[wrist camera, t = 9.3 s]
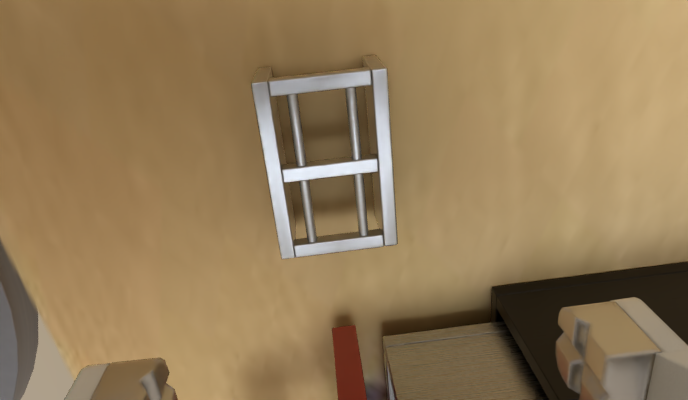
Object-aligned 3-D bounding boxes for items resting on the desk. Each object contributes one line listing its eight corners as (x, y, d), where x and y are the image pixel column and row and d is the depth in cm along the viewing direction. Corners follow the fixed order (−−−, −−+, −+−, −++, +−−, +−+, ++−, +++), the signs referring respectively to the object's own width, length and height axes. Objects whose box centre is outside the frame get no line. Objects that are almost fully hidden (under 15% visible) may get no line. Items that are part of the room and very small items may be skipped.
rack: (387, 214, 25) (398, 245, 22) (283, 227, 24) (281, 259, 22) (376, 54, 21) (387, 67, 19) (257, 68, 21) (250, 83, 18)
